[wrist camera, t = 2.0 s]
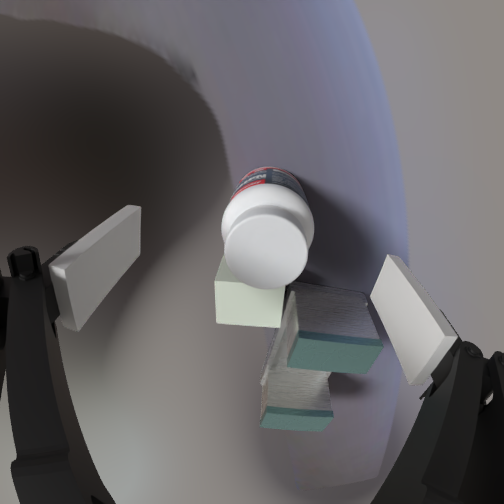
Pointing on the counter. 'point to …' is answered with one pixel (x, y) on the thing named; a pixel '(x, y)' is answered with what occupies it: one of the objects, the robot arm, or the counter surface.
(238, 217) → the pill bottle
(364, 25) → the counter surface
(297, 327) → the teal white block
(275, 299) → the block
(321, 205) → the counter surface
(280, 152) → the counter surface
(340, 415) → the counter surface
